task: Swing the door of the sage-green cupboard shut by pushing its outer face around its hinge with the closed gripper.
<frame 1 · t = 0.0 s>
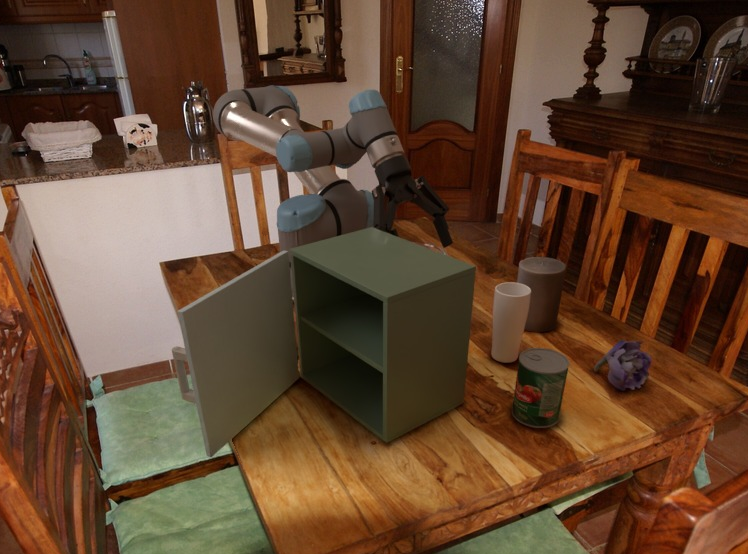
hand: (426, 252, 125), 15 cm above the table, tool tilted 35°, fingers open, 13 cm apart
canned tomato: (534, 415, 99), on the table
cupboard: (378, 389, 107), on the table
burger: (292, 348, 122), on the table
flower: (615, 382, 107), on the table
pillar candle: (533, 323, 129), on the table
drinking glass: (504, 358, 116), on the table
door: (236, 346, 96), point 13 cm above the table, hinge at 65.0°
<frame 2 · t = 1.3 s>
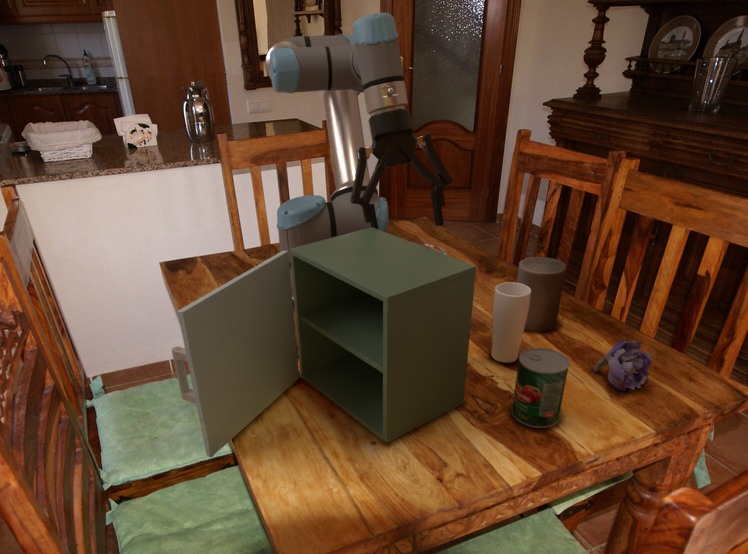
hand: (408, 232, 109), 24 cm above the table, tool tilted 15°, fingers open, 12 cm apart
nothing on the table moved.
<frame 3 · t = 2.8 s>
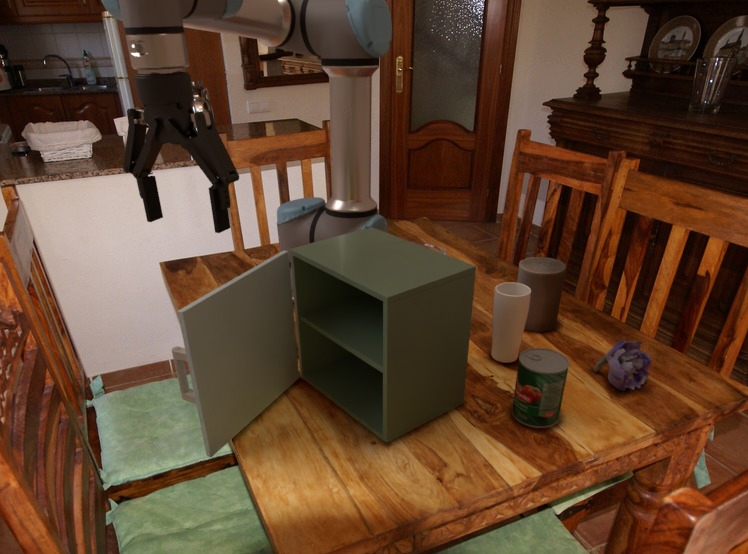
hand: (188, 225, 88), 33 cm above the table, tool pointing down, fingers open, 13 cm apart
nothing on the table moved.
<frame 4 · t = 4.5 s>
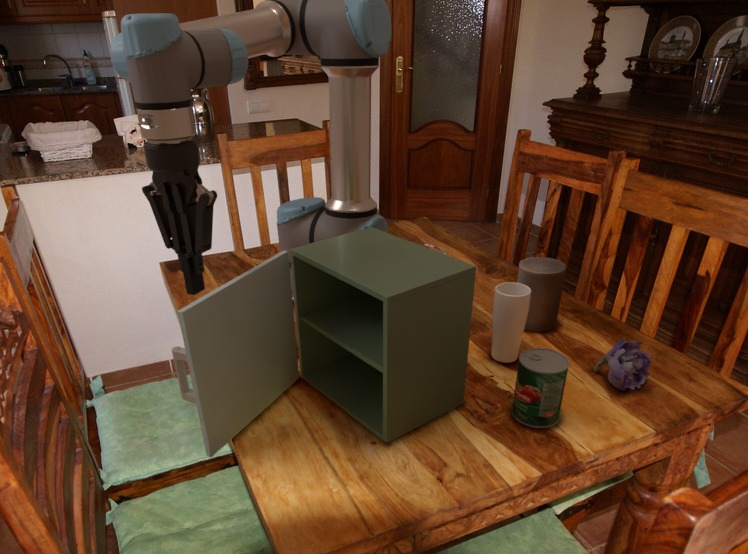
hand: (196, 291, 94), 22 cm above the table, tool pointing down, fingers closed
nothing on the table moved.
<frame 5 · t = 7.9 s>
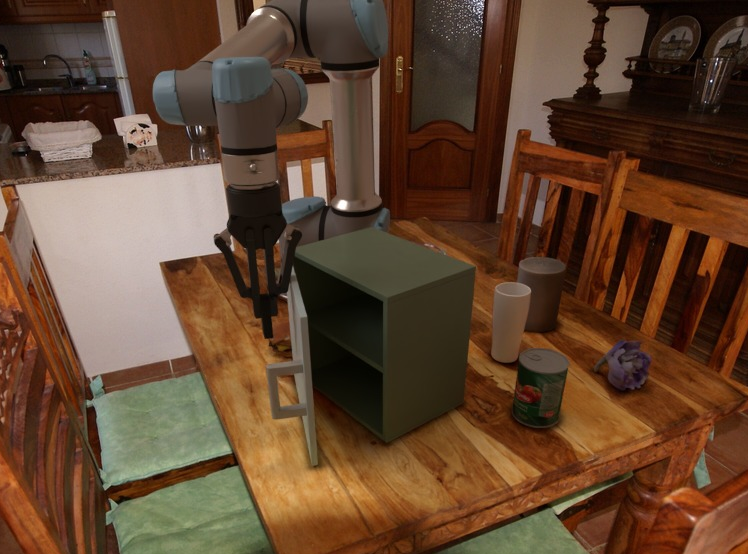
hand: (268, 334, 91), 17 cm above the table, tool pointing down, fingers closed
door: (283, 354, 93), point 13 cm above the table, hinge at 26.2°, touching hand
everything else where it was.
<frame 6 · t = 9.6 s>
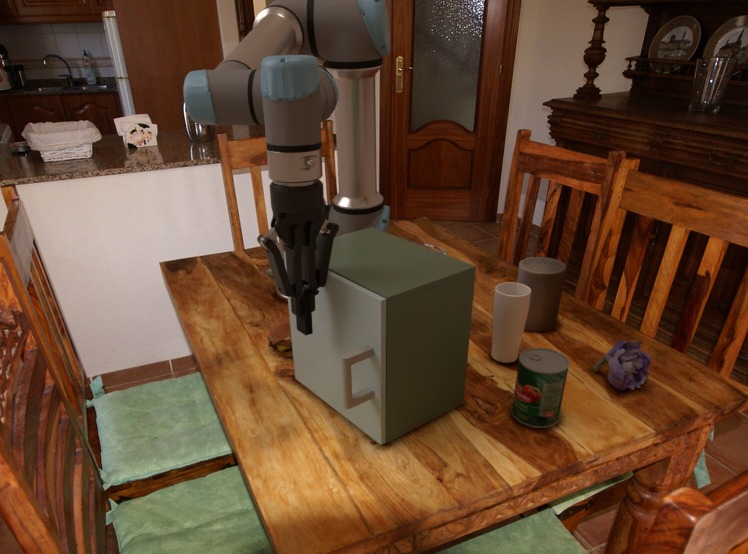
hand: (304, 331, 92), 17 cm above the table, tool pointing down, fingers closed
door: (320, 350, 94), point 13 cm above the table, hinge at -0.2°, touching hand
everything else where it was.
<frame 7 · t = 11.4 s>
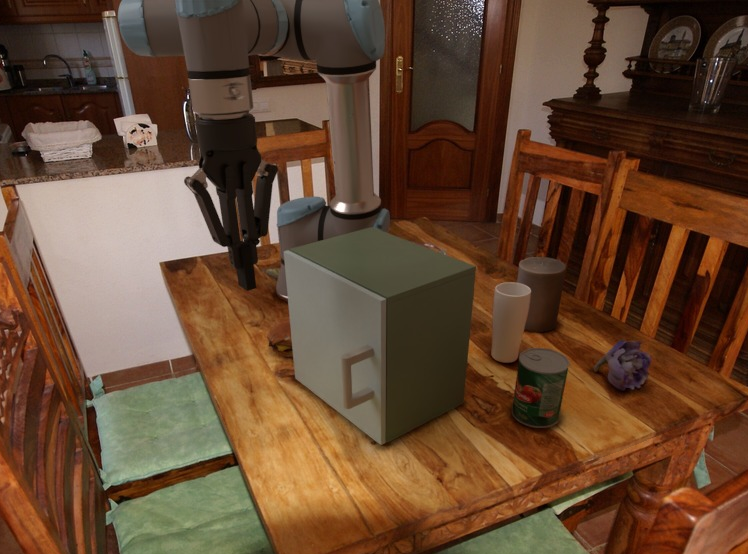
hand: (247, 286, 84), 26 cm above the table, tool pointing down, fingers closed
door: (320, 350, 94), point 13 cm above the table, hinge at -0.1°
everything else where it was.
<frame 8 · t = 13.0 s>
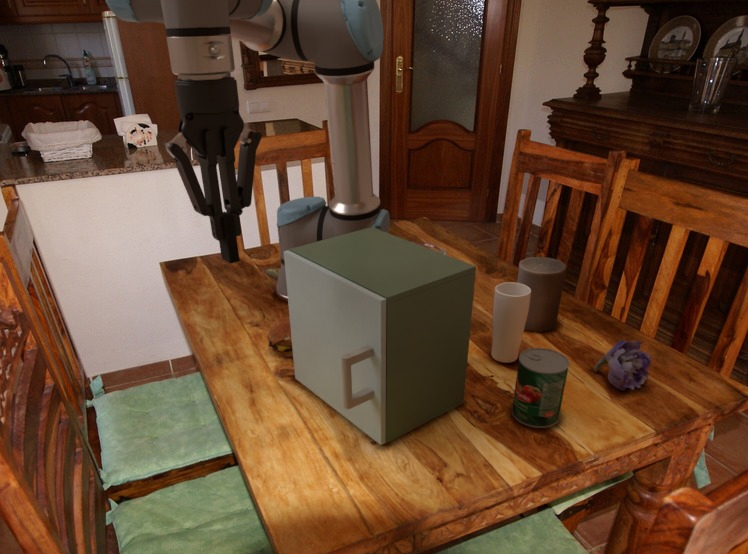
hand: (230, 259, 82), 30 cm above the table, tool pointing down, fingers closed
nothing on the table moved.
at the end: door at +0° (first picture: +65°) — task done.
